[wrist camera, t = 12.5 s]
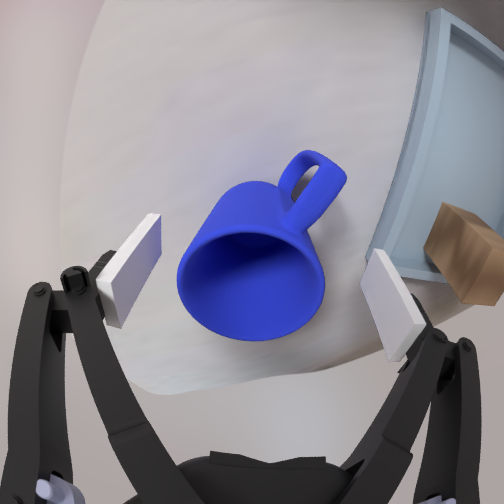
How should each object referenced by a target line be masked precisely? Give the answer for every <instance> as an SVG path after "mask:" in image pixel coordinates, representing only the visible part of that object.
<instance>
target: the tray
mask: <svg viewBox="0 0 504 504" xmlns="http://www.w3.org/2000/svg"><path fill="white" fill-rule="evenodd" d="M442 202H445V203H448V204H451V205H453V206H456V207H459V208H461V209H464V210H466V211H469V212H472V213H474V214H476V215H477V216H478V217H479V218H481V219H482V220H483V221H484V222H485V223H486V224H487V225H488V226H490V227H491V228H492V229H493V230H494V231H495V232H496V233H497V234H498V235H499V236H500V237H501V238H503V239H504V52H503V51H502V50H501V49H500V48H499V47H497V46H496V45H495V44H494V43H493V42H491V41H490V40H489V39H487V38H486V37H485V36H484V35H482V34H481V33H480V32H478V31H477V30H475V29H474V28H473V27H471V26H470V25H468V24H467V23H465V22H464V21H462V20H461V19H459V18H458V17H456V16H455V15H453V14H451V13H450V12H448V11H446V10H445V9H443V8H438V9H435V10H432V11H429V12H426V23H425V33H424V42H423V49H422V57H421V63H420V70H419V75H418V81H417V86H416V92H415V97H414V101H413V106H412V111H411V115H410V119H409V124H408V128H407V132H406V136H405V140H404V143H403V147H402V151H401V154H400V158H399V161H398V165H397V168H396V172H395V175H394V178H393V181H392V184H391V188H390V191H389V194H388V197H387V200H386V203H385V206H384V209H383V211H382V214H381V217H380V220H379V223H378V225H377V228H376V231H375V233H374V236H373V239H372V241H371V244H370V246H369V249H368V251H367V254H366V256H365V257H366V259H367V261H368V262H369V259H370V257H371V255H372V252H373V250H374V248H375V249H381V250H384V251H385V252H386V254H387V255H388V257H389V259H390V260H391V262H392V264H393V265H394V267H395V269H396V270H397V272H398V274H399V275H400V276H401V277H407V278H414V279H421V280H427V281H434V282H441V283H447V284H449V283H448V282H447V280H446V279H445V277H444V276H443V274H442V273H441V272H440V270H439V269H438V267H437V266H436V265H435V263H434V262H433V261H432V259H431V258H430V257H429V255H428V254H427V253H426V251H425V250H424V249H423V247H424V244H425V242H426V240H427V238H428V236H429V233H430V231H431V229H432V226H433V224H434V222H435V219H436V217H437V214H438V212H439V209H440V207H441V204H442Z"/></svg>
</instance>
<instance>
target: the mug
mask: <svg viewBox="0 0 504 504" xmlns="http://www.w3.org/2000/svg"><path fill="white" fill-rule="evenodd" d="M314 165H318V166H319V168H318V170H317V172H316V173H315V175H314V176H313V178H312V179H311V181H310V182H309V183H308V185H307V186H306V188H305V189H304V190H303V192H302V193H301V195H300V196H299V198H298V199H297V200H296V202H295V203H294V201H293V200H292V198H291V192H292V190H293V189H294V187H295V185H296V184H297V182H298V181H299V180H300V178H301V177H302V176H303V174H304V173H305V172H306V171H307V170H308V169H309V168H311V167H312V166H314ZM346 180H347V176H346V174H345V172H344V171H343V170H342V169H341V168H340V167H339V166H338V165H337V164H335V163H334V162H332V161H331V160H330V159H328V158H327V157H325V156H323V155H322V154H320V153H318V152H315V151H311V150H305V151H302V152H300V153H299V154H297V155H296V156H295V157H294V158H293V160H292V161H291V162H290V163H289V165H288V166H287V167H286V169H285V171H284V172H283V174H282V176H281V178H280V180H279V183H278V187H277V186H275V185H273V184H270V183H267V182H262V181H250V182H245V183H241V184H239V185H237V186H235V187H233V188H231V189H230V190H228V191H227V192H226V193H225V194H224V195H223V196H222V197H221V198H220V200H219V201H218V202H217V204H216V205H215V207H214V208H213V210H212V211H211V213H210V215H209V216H208V218H207V219H206V221H205V222H204V224H203V225H202V227H201V228H200V230H199V231H198V233H197V235H196V236H195V238H194V239H193V241H192V242H191V244H190V246H189V247H188V249H187V250H186V252H185V254H184V255H183V257H182V259H181V261H180V264H179V267H178V271H177V288H178V293H179V296H180V299H181V301H182V303H183V305H184V306H185V308H186V309H187V311H188V312H189V313H190V314H191V315H192V317H193V318H194V319H195V320H197V321H198V322H199V323H200V324H201V325H203V326H204V327H206V328H207V329H209V330H211V331H213V332H215V333H217V334H219V335H222V336H225V337H228V338H232V339H237V340H243V341H265V340H272V339H276V338H280V337H283V336H285V335H288V334H290V333H292V332H294V331H296V330H298V329H299V328H301V327H302V326H304V325H305V324H306V323H307V322H308V321H309V320H310V319H311V318H312V317H313V316H314V315H315V313H316V312H317V310H318V309H319V307H320V305H321V303H322V300H323V296H324V292H325V277H324V272H323V269H322V266H321V264H320V261H319V259H318V256H317V254H316V251H315V249H314V246H313V244H312V241H311V239H310V237H309V234H308V232H307V229H308V228H309V227H310V226H312V225H313V224H314V223H315V222H316V221H317V220H318V219H319V218H320V217H321V215H322V214H323V213H324V212H325V210H326V209H327V208H328V207H329V205H330V204H331V203H332V202H333V200H334V199H335V198H336V196H337V195H338V193H339V192H340V191H341V189H342V188H343V186H344V184H345V183H346Z"/></svg>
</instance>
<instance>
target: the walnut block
mask: <svg viewBox="0 0 504 504" xmlns="http://www.w3.org/2000/svg"><path fill="white" fill-rule="evenodd" d="M423 249H424V250H425V251H426V253H427V254H428V255H429V257H430V258H431V259H432V261H433V262H434V263H435V265H436V266H437V267H438V269H439V270H440V272H441V273H442V274H443V276H444V277H445V279H446V280H447V282H448V283H449V285H450V286H451V288H452V289H453V290H454V292H455V294H456V295H457V297H458V298H459V300H460V301H461V303H466V304H476V305H488V306H495V304H496V302H497V301H498V300H499V298H500V296H501V295H502V293H503V292H504V239H503V238H501V237H500V236H499V235H498V234H497V233H496V232H495V231H494V230H493V229H492V228H491V227H490V226H488V225H487V224H486V223H485V222H484V221H483V220H482V219H481V218H479V217H478V216H477V215H476V214H474V213H472V212H469V211H466V210H464V209H461V208H459V207H456V206H453V205H451V204H448V203H445V202H442V204H441V207H440V209H439V212H438V214H437V217H436V219H435V222H434V224H433V226H432V229H431V231H430V233H429V236H428V238H427V240H426V242H425V244H424V247H423Z"/></svg>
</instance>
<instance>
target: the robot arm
mask: <svg viewBox="0 0 504 504" xmlns="http://www.w3.org/2000/svg"><path fill="white" fill-rule="evenodd" d="M161 254H162V252H161V215H160V214H152V213H149V214H148V215H147V216H146V217H145V219H144V220H143V221H142V222H141V223H140V224H139V225H138V227H137V228H136V229H135V230H134V231H133V233H132V234H131V235H130V236H129V237H128V239H127V240H126V241H125V242H124V243H123V245H122V246H121V247H120V248H119V250H118V251H112V250H110V251H108V252H106V253H105V254H103V255H102V256H101V257H100V259H99V260H98V262H96V263H95V265H94V266H93V267H92V268H91V270H90V271H89V272H88V271H87V270H86V268H84V267H82V266H73V267H70V268H67V269H66V270H65V271H63V273H62V274H61V278H60V279H61V282H62V286H63V289H64V291H53V290H52V288H51V285H50V284H49V283H47V282H39V283H36V284H34V285H33V286H32V287H31V288H30V289H29V291H28V293H27V297H26V300H25V304H24V308H23V313H22V316H21V321H20V325H19V329H18V335H17V339H16V345H15V351H14V357H13V364H12V371H11V379H10V390H9V404H8V453H7V457H6V461H5V466H4V470H3V475H2V480H1V486H0V504H85V499H84V496H83V494H82V493H81V491H80V490H79V489H78V488H77V487H76V486H74V485H73V471H72V463H71V456H70V449H69V441H68V433H67V422H66V409H65V381H64V379H65V378H64V377H65V341H66V333H73V334H74V338H75V342H76V345H77V349H78V353H79V356H80V360H81V363H82V366H83V369H84V372H85V375H86V378H87V381H88V384H89V387H90V390H91V393H92V396H93V398H94V401H95V404H96V406H97V408H98V411H99V413H100V416H101V418H102V421H103V423H104V425H105V428H106V430H107V432H108V438H109V441H110V443H111V446H112V448H113V450H114V452H115V454H116V456H117V458H118V460H119V462H120V464H121V466H122V468H123V469H124V471H125V473H126V475H127V477H128V478H129V480H130V482H131V483H132V485H133V487H134V488H135V490H136V492H137V493H138V494H137V495H136V496H134V497H133V498H131V499H130V500H128V501H126V502H125V503H124V504H388V502H389V500H390V499H391V497H392V496H393V494H394V492H395V491H396V489H397V487H398V485H399V484H400V482H401V480H402V478H403V476H404V475H405V473H406V471H407V469H408V467H409V465H410V463H411V461H412V458H413V454H412V453H410V450H411V447H412V445H413V443H414V441H415V438H416V436H417V434H418V432H419V430H420V427H421V425H422V422H423V420H424V417H425V415H426V412H427V410H428V407H429V404H430V402H431V407H430V416H429V424H428V430H427V437H426V443H425V448H424V454H423V459H422V463H421V468H420V472H419V476H418V480H417V484H416V488H415V493H414V499H413V504H480V499H479V487H478V472H479V462H480V449H481V395H480V394H481V393H480V379H479V369H478V361H477V353H476V348H475V346H474V344H473V343H472V341H471V340H469V339H467V338H464V337H463V338H460V339H459V341H458V342H457V343H453V342H450V341H448V339H447V336H446V335H445V334H444V333H443V332H442V331H441V330H439V329H437V328H433V326H432V324H431V322H430V320H429V318H428V316H427V314H426V313H425V311H424V309H423V307H422V305H421V303H420V302H419V300H418V299H417V298H416V297H415V296H414V295H413V294H410V293H409V291H408V289H407V287H406V286H405V284H404V282H403V280H402V279H401V277H400V275H399V274H398V272H397V270H396V269H395V267H394V265H393V264H392V262H391V260H390V259H389V257H388V255H387V254H386V252H385V251H384V250H381V249H375V248H374V250H373V252H372V255H371V257H370V259H369V262H368V264H367V267H366V269H365V272H364V274H363V276H362V279H361V281H360V286H361V288H362V291H363V293H364V296H365V298H366V301H367V303H368V306H369V308H370V311H371V314H372V316H373V319H374V322H375V325H376V327H377V330H378V333H379V336H380V339H381V342H382V344H383V347H384V350H385V353H386V356H387V359H388V362H394V361H395V362H397V361H401V359H402V358H403V357H404V355H405V354H406V356H407V358H408V360H407V361H406V362H405V364H404V365H403V366H402V367H401V369H400V370H399V371H398V373H400V374H399V376H398V378H397V380H396V382H395V384H394V386H393V388H392V389H391V391H390V393H389V395H388V397H387V399H386V401H385V402H384V404H383V406H382V407H381V409H380V411H379V413H378V414H377V416H376V418H375V419H374V421H373V422H372V424H371V426H370V427H369V429H368V430H367V432H366V434H365V435H364V437H363V438H362V440H361V441H360V443H359V444H358V446H357V447H356V448H355V450H354V451H353V453H352V454H351V456H350V457H349V458H348V459H347V460H346V461H345V462H344V463H343V464H342V465H341V466H340V467H338V466H336V465H333V464H330V463H326V457H298V458H294V459H289V460H285V461H280V462H276V463H266V462H262V461H259V460H255V459H252V458H249V457H246V456H243V455H240V454H230V453H222V452H215V451H210V456H203V457H198V458H194V459H190V460H187V461H185V462H183V463H181V464H179V465H177V466H176V465H175V463H174V461H173V460H172V458H171V457H170V455H169V454H168V452H167V451H166V449H165V447H164V446H163V444H162V443H161V441H160V440H159V438H158V436H157V434H156V433H155V431H154V429H153V428H152V426H151V424H150V423H149V421H148V420H147V418H146V417H145V415H144V413H143V411H142V409H141V407H140V406H139V404H138V402H137V400H136V398H135V396H134V394H133V392H132V390H131V388H130V386H129V383H128V381H127V379H126V377H125V375H124V373H123V371H122V368H121V366H120V364H119V361H118V359H117V357H116V354H115V352H114V350H113V347H112V345H111V342H110V340H109V337H108V334H107V332H106V329H105V326H104V324H103V319H104V317H105V320H106V323H107V325H109V326H112V327H116V328H120V329H121V328H122V326H123V324H124V322H125V320H126V318H127V316H128V314H129V312H130V310H131V308H132V306H133V304H134V302H135V301H136V299H137V297H138V295H139V293H140V291H141V289H142V288H143V286H144V284H145V282H146V280H147V279H148V277H149V275H150V273H151V271H152V270H153V268H154V266H155V264H156V263H157V261H158V259H159V257H160V256H161Z"/></svg>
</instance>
